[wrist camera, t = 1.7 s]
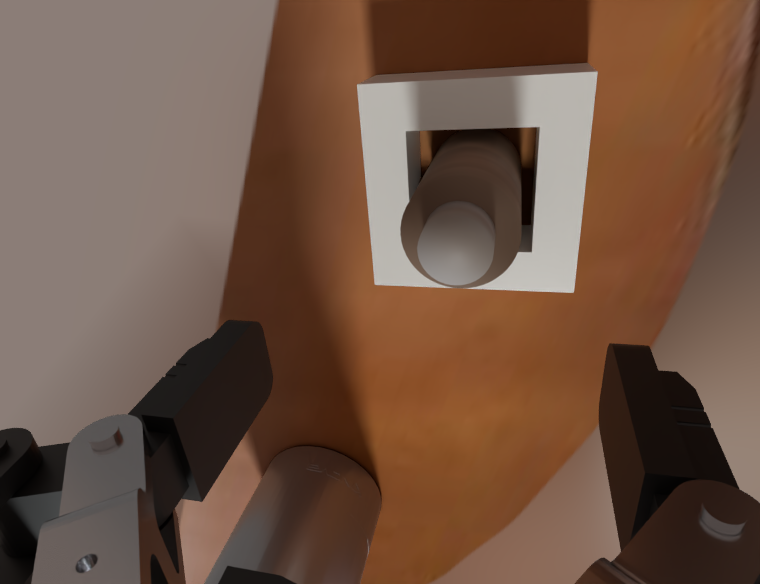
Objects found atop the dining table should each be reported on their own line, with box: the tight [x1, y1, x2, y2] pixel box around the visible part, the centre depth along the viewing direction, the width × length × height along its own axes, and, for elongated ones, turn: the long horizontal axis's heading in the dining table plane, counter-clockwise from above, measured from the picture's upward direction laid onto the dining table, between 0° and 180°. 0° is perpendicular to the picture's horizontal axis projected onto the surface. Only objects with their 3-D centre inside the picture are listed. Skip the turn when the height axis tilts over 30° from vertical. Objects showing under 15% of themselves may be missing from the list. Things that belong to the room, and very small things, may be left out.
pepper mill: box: [400, 129, 521, 288], centre depth 22 cm, size 4×4×10 cm
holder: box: [357, 63, 598, 293], centre depth 25 cm, size 10×10×4 cm
